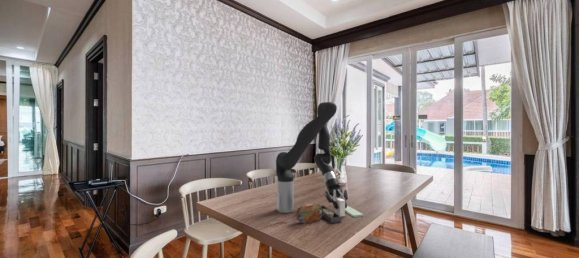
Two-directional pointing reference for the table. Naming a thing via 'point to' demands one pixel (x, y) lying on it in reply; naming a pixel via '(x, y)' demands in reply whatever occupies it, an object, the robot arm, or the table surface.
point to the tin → (309, 213)
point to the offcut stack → (328, 212)
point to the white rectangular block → (340, 207)
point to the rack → (333, 219)
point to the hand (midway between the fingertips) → (341, 208)
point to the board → (353, 212)
